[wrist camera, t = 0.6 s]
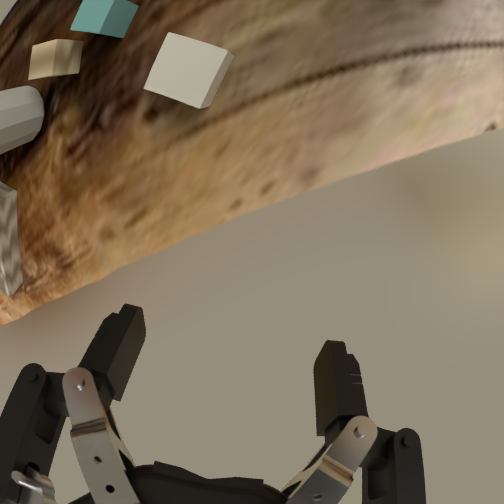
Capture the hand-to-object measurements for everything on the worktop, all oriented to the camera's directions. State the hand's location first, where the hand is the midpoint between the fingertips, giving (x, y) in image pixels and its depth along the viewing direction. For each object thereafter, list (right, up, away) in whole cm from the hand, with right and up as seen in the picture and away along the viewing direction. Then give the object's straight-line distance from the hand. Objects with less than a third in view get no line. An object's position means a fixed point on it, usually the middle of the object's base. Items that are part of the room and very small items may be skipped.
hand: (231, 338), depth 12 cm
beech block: (-25, +31, +14) cm, 42 cm away
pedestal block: (-6, +25, +17) cm, 31 cm away
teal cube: (-17, +34, +12) cm, 39 cm away
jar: (-35, +26, +18) cm, 47 cm away
